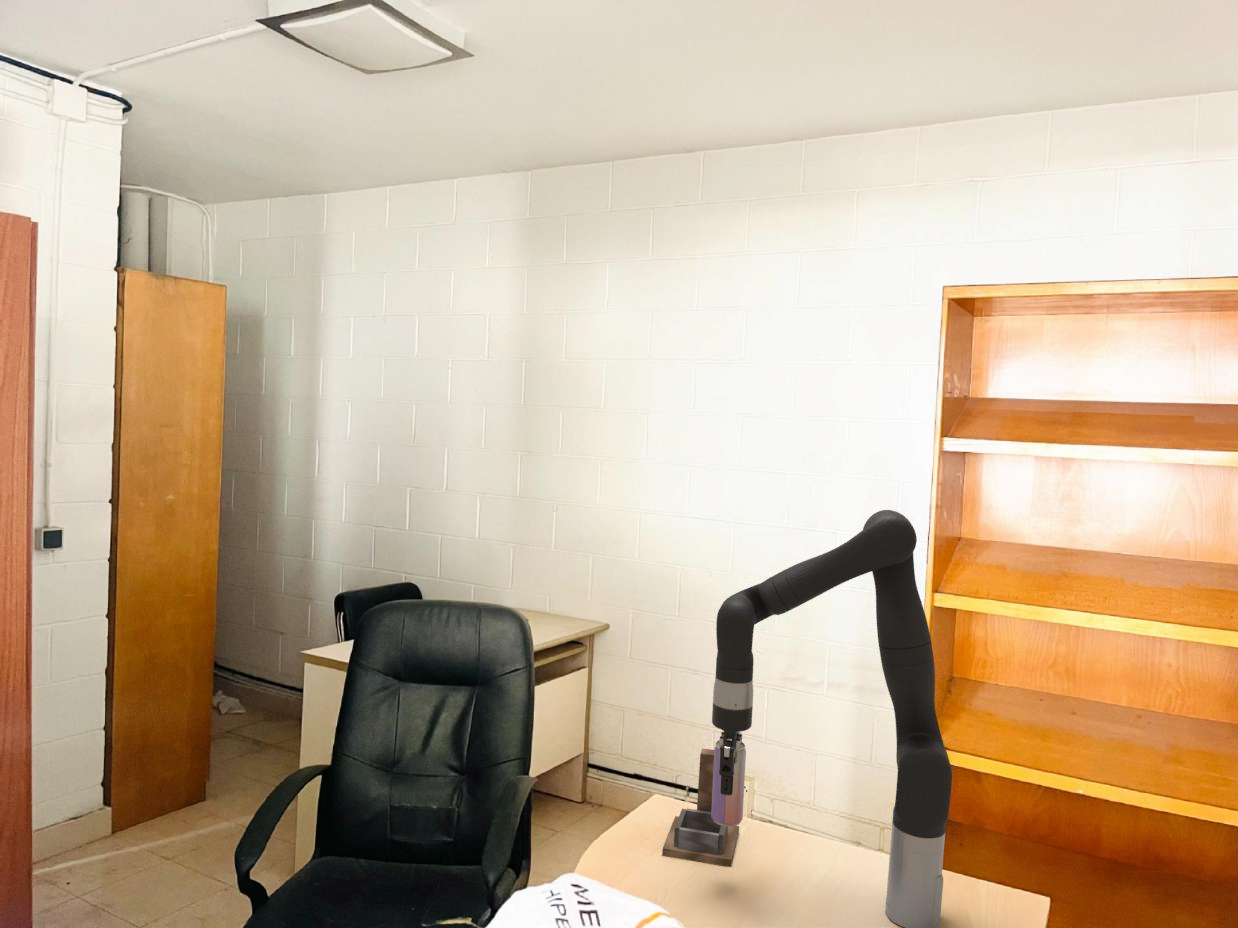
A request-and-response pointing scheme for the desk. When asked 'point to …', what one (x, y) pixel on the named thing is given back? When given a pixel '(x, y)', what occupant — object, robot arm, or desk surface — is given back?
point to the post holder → (702, 826)
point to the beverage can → (728, 806)
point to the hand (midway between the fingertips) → (728, 786)
